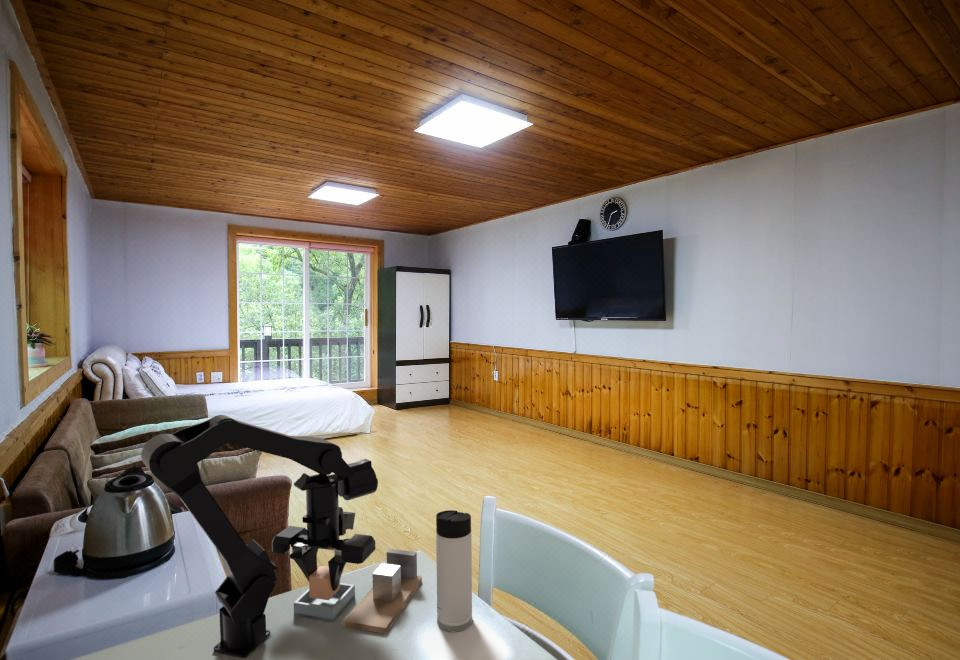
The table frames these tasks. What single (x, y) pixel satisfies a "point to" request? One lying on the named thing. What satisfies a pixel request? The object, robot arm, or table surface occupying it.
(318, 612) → the tray
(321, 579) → the block
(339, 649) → the table surface
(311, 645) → the table surface
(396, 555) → the rail base
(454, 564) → the travel mug
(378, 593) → the block
